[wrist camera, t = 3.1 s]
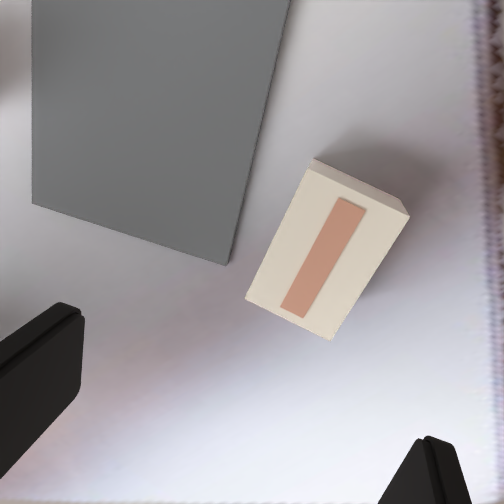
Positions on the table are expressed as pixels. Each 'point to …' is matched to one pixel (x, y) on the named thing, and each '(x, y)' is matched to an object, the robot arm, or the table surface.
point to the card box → (326, 249)
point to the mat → (151, 113)
